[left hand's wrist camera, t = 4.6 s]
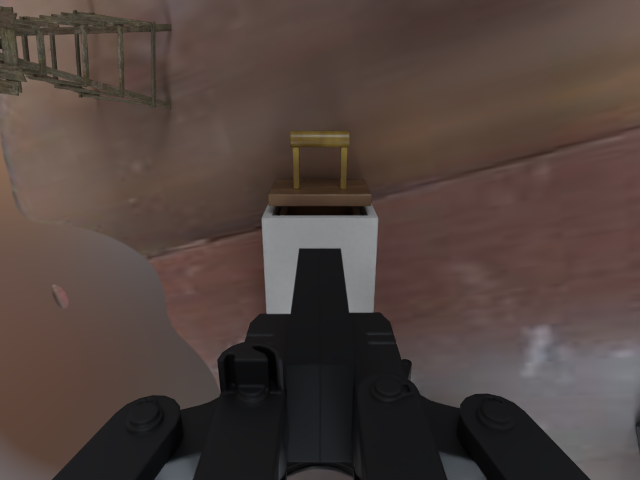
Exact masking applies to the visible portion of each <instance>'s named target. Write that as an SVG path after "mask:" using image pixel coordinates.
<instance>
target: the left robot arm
mask: <svg viewBox="0 0 640 480" xmlns="http://www.w3.org/2000/svg"><path fill="white" fill-rule="evenodd" d="M217 361H218V370H219V380H220V390H221V394H220V397H218V398H217V399H215V400H213V401H211V402H208V403H205V404H202V405H199V406H195V407H191V408H187V409H182V410H180V406H179V405H178V403H177V402H176V401H175V400H174V399H172V398H169V397H167V396H155V395H152V396H148V397H144V398H139V399H137V400H135V401H133V402H131V403H129V404H127V405H125V406H124V407H123V408H122V409H120V410H119V411H118V412H117V413H115V414H114V416H113V417H112V418H111V419H110V420H109V421H108V422H107V423H106V424H105V425H104V426H103V427H102V428H101V429H100V430H99V431H98V432H97V433H96V434H95V435H94V436H93V437H92V439H91V440H90V441H89V442H88V443H87V444H86V445H85V446H84V447H83V448H82V449H81V450H80V451H79V452H78V453H77V454H76V455H75V456H74V457H73V458H72V459H71V460H70V462H69V463H68V464H67V465H66V466H65V467H64V468H63V469H62V470H61V471H60V472H59V473H58V474H57V475H56V476H55V477H54V478H53V479H52V480H287V470H286V466H287V460H288V462H352V460H353V464H354V470H353V480H590V479H589V478H588V477H587V476H586V475H585V474H584V473H583V471H582V470H581V469H580V468H579V467H578V466H577V465H576V464H575V463H574V462H573V461H572V460H571V459H570V458H569V457H568V456H567V455H566V454H565V453H564V452H563V451H562V450H561V449H560V448H559V447H558V446H557V444H556V443H555V442H554V441H553V440H552V439H551V438H550V437H549V436H548V435H547V434H546V433H545V432H544V431H543V430H542V429H541V428H540V427H539V426H538V425H537V424H536V423H535V422H534V421H533V420H532V419H531V417H530V416H529V415H528V414H527V413H526V412H525V411H524V410H522V409H521V408H520V407H518V406H517V405H516V404H515V403H513V402H511V401H509V400H507V399H505V398H503V397H500V396H495V395H491V394H474V395H472V396H469V397H467V398H465V400H464V401H463V402H462V403H461V404H460V408H456V407H452V406H448V405H444V404H440V403H437V402H434V401H431V400H429V399H427V398H425V397H423V396H421V395H420V393H419V391H418V389H417V388H416V386H415V385H414V384H413V383H412V382H411V381H410V380H408V379H407V377H406V374H405V370H404V367H403V364H402V360H401V357H400V354H399V351H398V347H397V344H396V341H395V337H394V335H393V331H392V327H391V324H390V322H389V321H388V320H387V319H386V318H385V317H384V316H383V315H382V314H381V313H349V306H348V299H347V291H346V284H345V276H344V268H343V261H342V253H341V248H299V253H298V261H297V268H296V276H295V284H294V291H293V299H292V306H291V314H259V315H258V316H257V317H256V318H255V319H254V320H253V321H252V322H251V323H250V326H249V329H248V332H247V337H246V339H245V342H243V343H240V344H237V345H234V346H231V347H230V348H228V349H227V350H225V351H224V352H223V353H222V354H221V355H220V357H219V358H218V360H217Z"/></svg>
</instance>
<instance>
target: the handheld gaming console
mask: <svg viewBox="0 0 640 480" xmlns="http://www.w3.org/2000/svg"><path fill="white" fill-rule="evenodd" d="M636 430H637V438H638V443H639V449H640V423H638V424H637V426H636Z"/></svg>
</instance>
